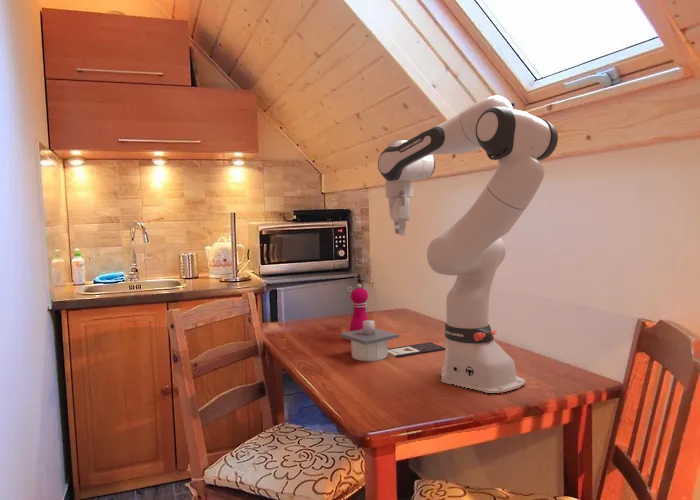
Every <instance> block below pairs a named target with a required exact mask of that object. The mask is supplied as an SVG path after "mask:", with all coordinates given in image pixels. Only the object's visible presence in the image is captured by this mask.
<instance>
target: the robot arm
mask: <svg viewBox="0 0 700 500" xmlns="http://www.w3.org/2000/svg"><path fill="white" fill-rule="evenodd" d="M558 142H559V134H558V130H557V128H556V127H555V126H554V125H553V124H552V122H550V121H549V120H547V119H545V118H542V117H537V116H535V115H533V114H530V113H529V112H528V111H527V112H526V111H523V110H518V109H514V107H513V105H512V103H511V102H510V101H509V100H508V99H507V98H505V97H503V96H501V95H492V96H489V97H488V96H487V98H484V99H481V100H479V101H477V102H476V103H473V104H472V105H470V106H468V107H467V108H466V109H464V110H462V111H461V112H459V113H457V114H456V115H454V116H453V117H451V118H448V120H446V121H444V122H442V123H440V124H438V125H436V126H434V127H431V128H430V129H428V130H425V131H423V132H421V133H419V134H417V135H416V136H414V137H412V138H410V139H409V140H408V139H407V140H406V139H398V140H394V141H391V142H390V143H388V144H387V147H386V148H384V150H383V151H382V152H381V153H380V155H379V157H378V159H377V169H378V171H379V173H380V174H381V175H380V176H382V177H383V179H385V198H387V199H388V206H389V208H388V209H389V216H390V220H392V221H393V225H394V234H396V235H399V236H405V235H406V228H407V227H406V225H407V222H409V221H410V220H411V219H410V217H411V214H410V198H413V197H414V181H425V180H428V179H430V178H431V177H432V175H433V173H435V168H436V159H435V157H434V156H435V155H446V154H447V155H449V154H450V155H453V154H455V155H464V154H468V153H472V152H476V151H477V150H480V149H483V151H484V152H485V153H486V156H487V158H488V159H489V160H491V161H497V162H498V163H497V164H498V165H497V169H496V171H495V173H494V174H493V175H492V177H491V178H490V180H489V181H488V182H487V184H486V185H485V187H484V188H483V190H482V192H481V193H480V194H479V196H478V197H477V199H476V200H475V202H474V203H473V205H472V206H471V207H470V208H469V209H468V210H467V212H466V213H465V214H463V216H462V217H461V218H460V219H458V220H457V221H456V222H455V223H454V224H453V225H451V227H450V228H449V229H447V230H446V231H445V232H444V233H442V234H441V235H439V236H437V237H435V238H434V239H432V240H431V241H430V243H429V244H428V246H427V250H426V260H427V263H428V266H429V267H430V269H431V270H432V271H433V272H435V273H436V274H438V275H445V276H453V277H454V276H456V279H455V282H454V284H453V286H452V287H451V288H450V290H449V291H448V292H447V295H446V299H445V300H446V302H445V303H446V304H445V305H446V307H445V308H446V314H445V315H446V322H445V324H444V337H445V339H446V340H445V341H446V343H445V347H444V348H445V350H444V357H443V363H442V368H441V370H440V371H441V372H440V376H441V378H440V381H441V382H442V383H444V384H448V385H452V384H454V385H453V386H456V385H457V387H460V386H461V387H460V388H464V387H465V388H464V389H467V388H470V389H469V390H471V389H475V390H479V391H483V392H487V393H497V392H504V391H508V390H512V389H515V388H518V387H520V386H522V385H524V383H525V384H526V380H525V379H524V378H523V377H521V376H518V375H517V372H516V366H515V365H516V364H515V361H514V359H513V358H512V357H511V356H510V355H509V354H508V353H507V352H506V351H505V350H504V349H503V348H502V347H501V346H500V345H499V344H498V342H496V341H495V337H494V335H497V334H498V333H496V332H497V331H498V330H497V329H494V330H492V328H491V326H490V324H489V307H490V306H489V305H490V304H489V303H490V293H491V287H492V285H493V284H492V283H493V281H494V278H495V275H496V272H497V270H498V268H499V266H500V265H501V263H503V261H504V260H505V257H506V245H505V242H504V241H503V239H502V237H504V236H505V235H506V234H508V233H509V232H510V231H511V230H512V228H513V226H514V225H515V224H516V223H517V221H518V220H519V219H520V217H521V216H522V215H523V213H524V212H525V210H526V209H527V207H528V206H529V205H530V203H531V202H532V201H533V198H534V197H535V195H536V194H537V191H538V190H539V187H541V184H542V182H543V179H544V176H545V168H544V166H543V165H542V163H541V161H543V160H546V159H548V158H549V157H550V156H551V155H552V154H553V152H554V151H555V150H556V148H557V145H558ZM524 386H525V385H524ZM475 390H474V391H475ZM479 391H478V392H479ZM483 392H482V393H483ZM487 393H486V394H487Z"/></svg>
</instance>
